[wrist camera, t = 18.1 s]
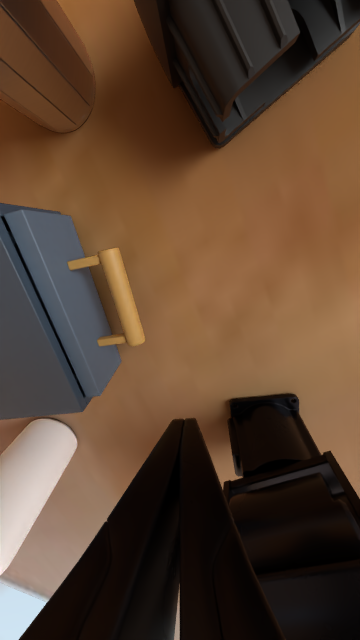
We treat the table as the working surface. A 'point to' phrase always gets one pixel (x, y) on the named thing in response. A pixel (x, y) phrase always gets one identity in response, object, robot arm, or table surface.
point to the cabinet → (29, 344)
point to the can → (30, 479)
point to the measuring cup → (44, 65)
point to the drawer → (76, 294)
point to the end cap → (242, 51)
